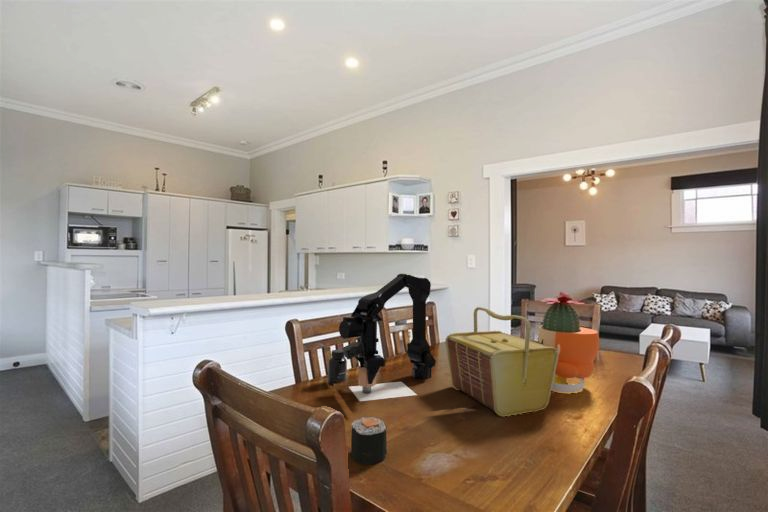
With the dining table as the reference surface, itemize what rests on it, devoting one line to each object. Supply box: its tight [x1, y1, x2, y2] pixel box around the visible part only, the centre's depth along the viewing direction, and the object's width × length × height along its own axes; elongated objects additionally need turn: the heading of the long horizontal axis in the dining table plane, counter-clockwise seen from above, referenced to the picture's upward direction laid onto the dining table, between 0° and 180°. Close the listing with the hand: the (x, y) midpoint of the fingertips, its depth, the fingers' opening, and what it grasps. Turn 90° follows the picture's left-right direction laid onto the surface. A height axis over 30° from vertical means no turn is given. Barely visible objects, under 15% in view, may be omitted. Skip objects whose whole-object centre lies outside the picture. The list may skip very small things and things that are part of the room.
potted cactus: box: [537, 291, 601, 392], centre depth 147 cm, size 22×22×35 cm
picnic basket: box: [445, 306, 559, 418], centre depth 130 cm, size 29×26×30 cm
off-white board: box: [348, 381, 418, 402], centre depth 132 cm, size 20×14×2 cm
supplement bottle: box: [327, 349, 348, 387], centre depth 143 cm, size 7×7×12 cm
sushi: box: [350, 416, 388, 466], centre depth 92 cm, size 8×8×8 cm
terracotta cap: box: [357, 367, 377, 387], centre depth 130 cm, size 6×6×5 cm
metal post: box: [362, 387, 371, 394], centre depth 130 cm, size 3×3×4 cm
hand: (367, 381), depth 130 cm, fingers closed on terracotta cap, 6 cm apart
